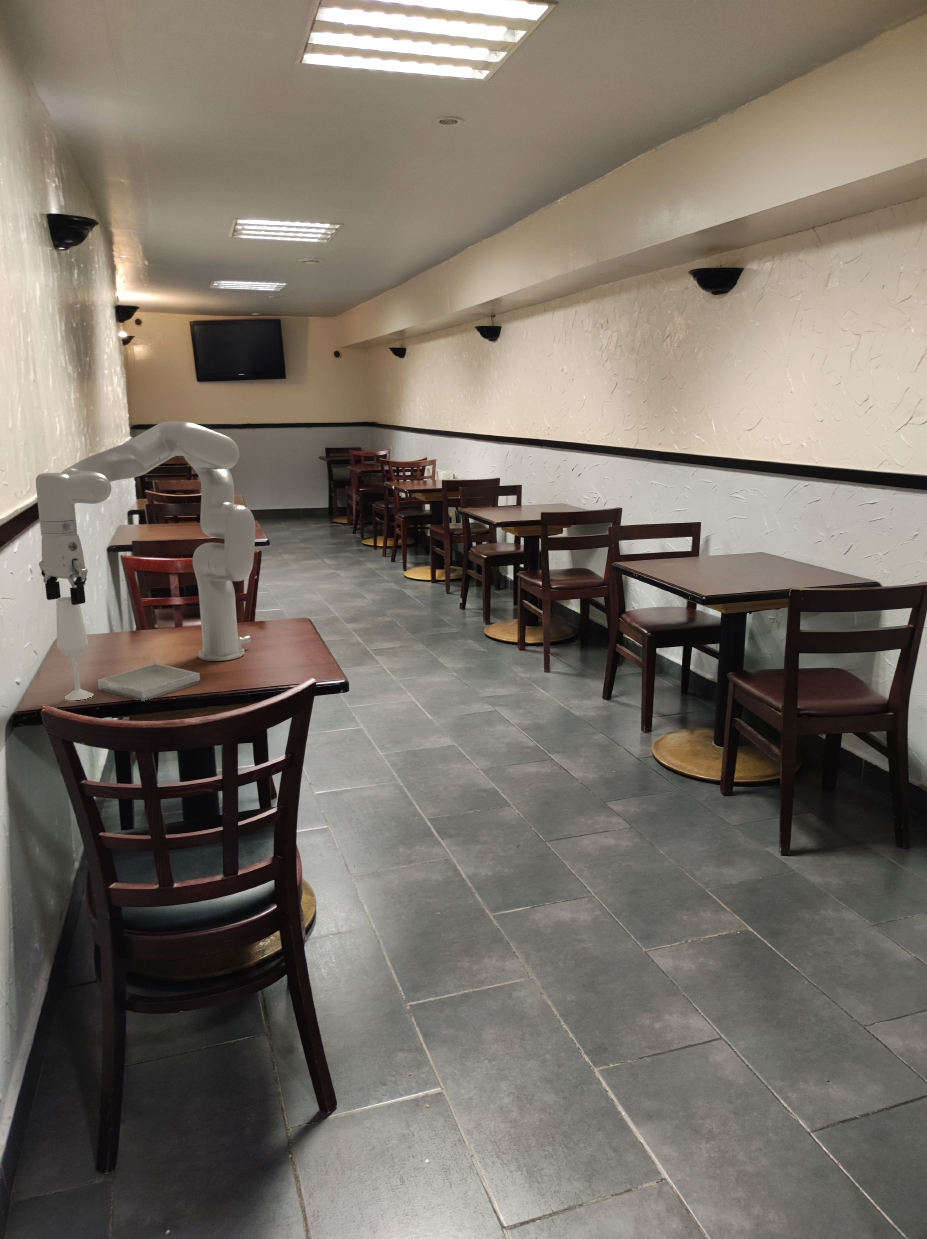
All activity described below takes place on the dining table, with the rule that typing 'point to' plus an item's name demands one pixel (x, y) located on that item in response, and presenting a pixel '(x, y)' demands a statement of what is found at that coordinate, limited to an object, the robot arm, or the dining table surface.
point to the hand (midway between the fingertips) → (66, 601)
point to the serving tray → (148, 681)
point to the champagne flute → (71, 639)
